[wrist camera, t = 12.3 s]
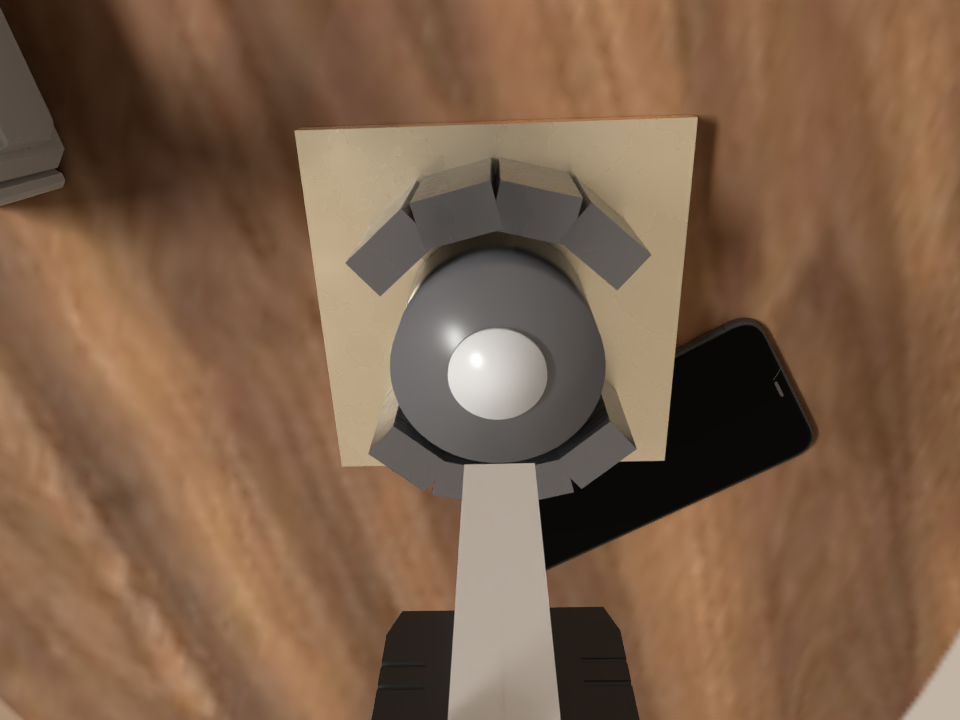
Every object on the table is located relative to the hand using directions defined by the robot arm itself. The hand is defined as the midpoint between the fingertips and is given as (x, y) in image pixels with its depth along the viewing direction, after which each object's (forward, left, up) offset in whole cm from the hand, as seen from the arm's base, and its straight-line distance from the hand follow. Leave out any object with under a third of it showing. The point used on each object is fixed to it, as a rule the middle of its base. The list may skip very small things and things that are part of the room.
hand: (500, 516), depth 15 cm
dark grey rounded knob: (0, 0, -13) cm, 13 cm away
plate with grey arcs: (0, 0, -14) cm, 14 cm away
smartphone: (+8, +6, -14) cm, 17 cm away
